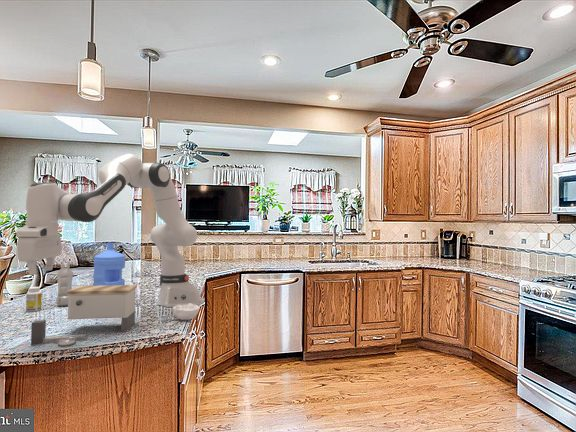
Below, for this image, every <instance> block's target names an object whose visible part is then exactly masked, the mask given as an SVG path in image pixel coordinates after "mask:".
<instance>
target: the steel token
mask: <svg viewBox="0 0 576 432" xmlns="http://www.w3.org/2000/svg"><path fill="white" fill-rule="evenodd" d="M76 344H77V341H76V338H74V337H69V338H63V339H60V340H59V341H58V342H57V347H59V346H60V347H59V348H63V347H71V346H75V345H76Z"/></svg>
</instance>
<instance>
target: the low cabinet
mask: <svg viewBox="0 0 576 432" xmlns="http://www.w3.org/2000/svg"><path fill="white" fill-rule="evenodd" d="M137 288H138V285H137V284H126V285H106V286H93V285H79V286H76V287H74V288H71V290H69V291H66V294H68V305H67V320H91V319H92V320H93V319H95V320H96V319H120V318H121V325H120V327H121V329H120V330H121V332H128V331H129V330H130V329H131V328H132V327H133V326H134V324H135V318H136V317H135V316H136V315H135V313H136V312H135V311H136V289H137Z"/></svg>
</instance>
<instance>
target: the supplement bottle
mask: <svg viewBox="0 0 576 432" xmlns="http://www.w3.org/2000/svg"><path fill="white" fill-rule="evenodd" d="M40 289H41V287H40V286H33V287H32V286H31V287H28V291H27V292H26V294H25V295H26V299H25V303H26V304H25V308H26V312H28V313H29V312H30V313H31V312H39V311H41V310H42V309H43V308H42V307H43V306H42V303H43V302H42V301H43V299H42V297H43V292H42V291H41V290H40Z"/></svg>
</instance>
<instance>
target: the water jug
mask: <svg viewBox="0 0 576 432" xmlns="http://www.w3.org/2000/svg"><path fill="white" fill-rule="evenodd" d="M125 267H126V255H125V254H123V253H121V252H118V251H116V250H114V242H107V245H106V250H105V251H102V252H100V253H98V254H96V255H94V257H93V276H92V277H93V285H92V286H106V285H125V279H123V269H125Z"/></svg>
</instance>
